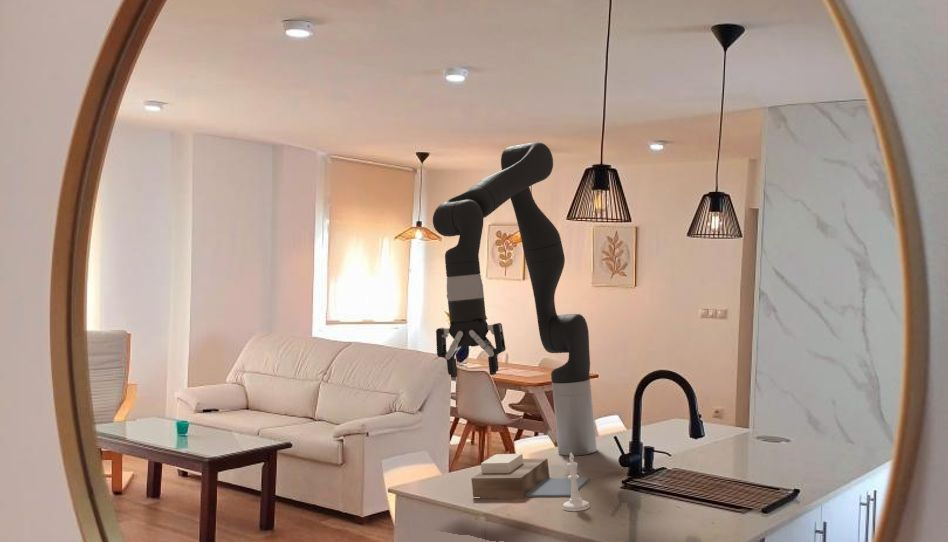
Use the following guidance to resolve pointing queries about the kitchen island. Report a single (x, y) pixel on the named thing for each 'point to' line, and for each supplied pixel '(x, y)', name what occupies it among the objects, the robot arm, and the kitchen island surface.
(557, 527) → the kitchen island surface
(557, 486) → the mat
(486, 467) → the white rectangular block
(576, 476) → the chess piece
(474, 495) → the block
